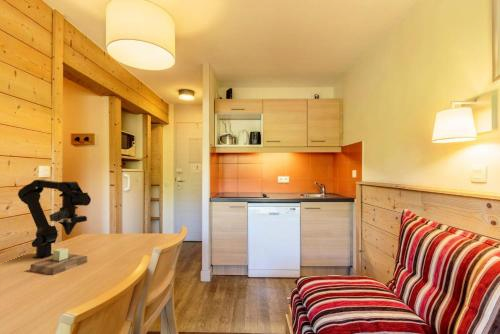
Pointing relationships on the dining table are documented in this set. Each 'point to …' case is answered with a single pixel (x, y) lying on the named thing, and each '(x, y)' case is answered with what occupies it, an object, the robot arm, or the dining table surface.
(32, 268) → the board
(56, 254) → the peg
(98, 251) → the dining table surface
